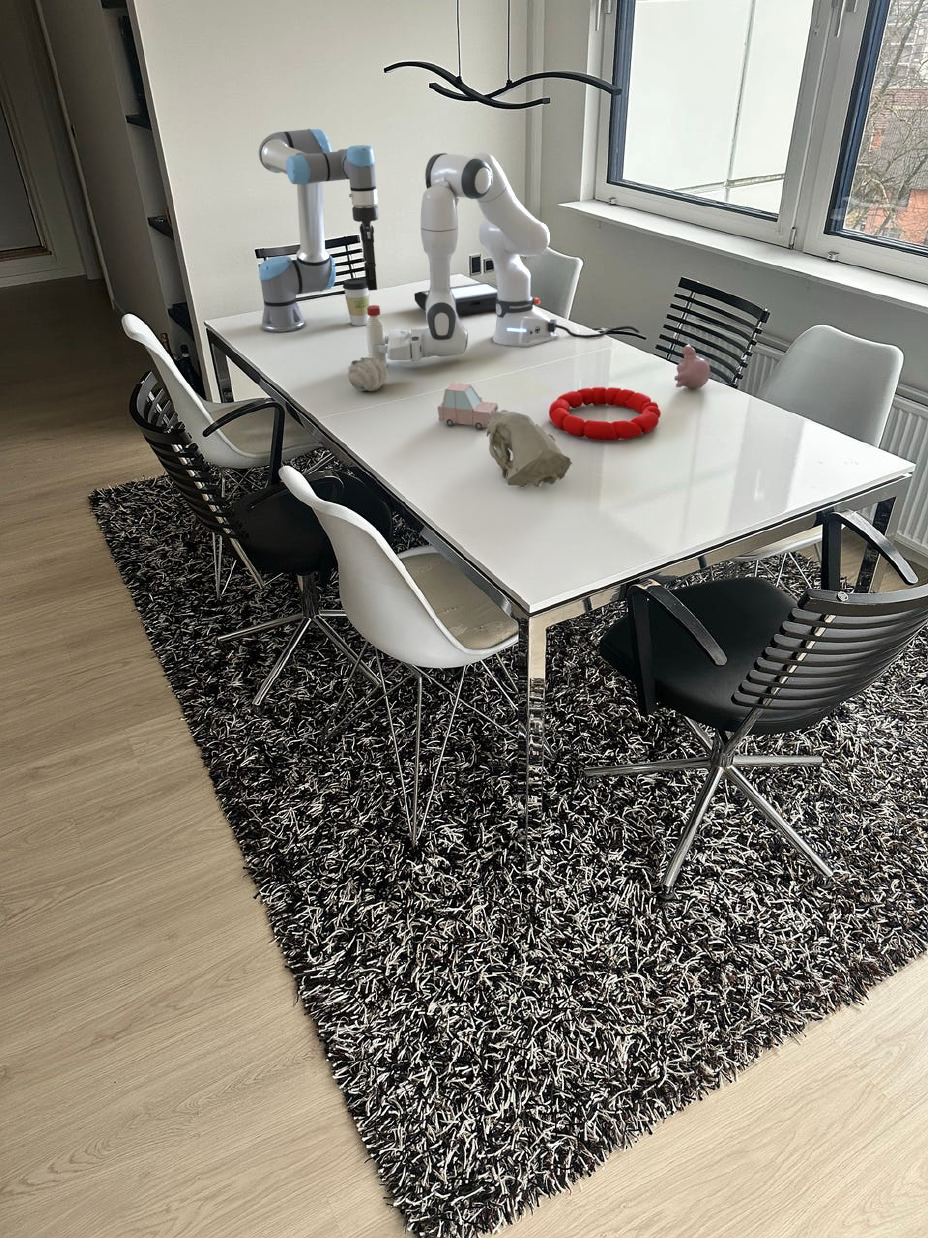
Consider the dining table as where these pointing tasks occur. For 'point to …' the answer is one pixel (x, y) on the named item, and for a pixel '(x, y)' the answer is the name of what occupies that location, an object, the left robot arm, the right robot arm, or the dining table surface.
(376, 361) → the seashell
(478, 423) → the toy car
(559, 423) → the decorative ring
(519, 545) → the dining table surface
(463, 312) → the electronic device
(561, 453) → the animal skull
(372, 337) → the bottle
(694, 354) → the figurine
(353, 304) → the coffee cup
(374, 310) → the cap
